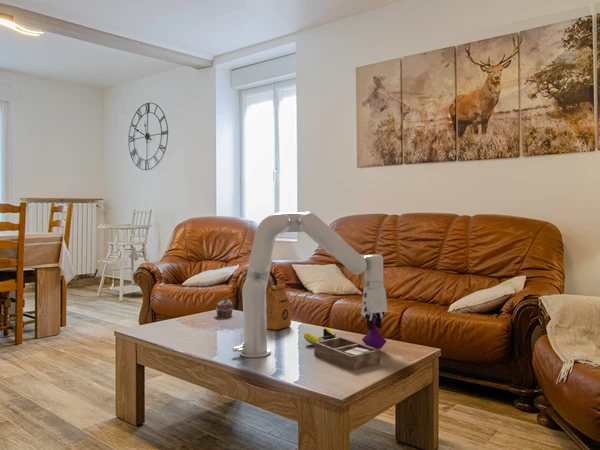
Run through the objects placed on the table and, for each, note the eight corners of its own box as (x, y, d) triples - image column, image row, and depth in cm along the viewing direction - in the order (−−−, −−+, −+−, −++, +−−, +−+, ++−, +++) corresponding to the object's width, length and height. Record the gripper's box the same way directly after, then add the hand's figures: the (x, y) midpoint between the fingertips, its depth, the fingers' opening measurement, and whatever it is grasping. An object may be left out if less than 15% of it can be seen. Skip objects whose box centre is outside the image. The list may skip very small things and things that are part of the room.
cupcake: (228, 313, 275) (228, 296, 275) (235, 316, 267) (235, 298, 267) (213, 315, 270) (212, 298, 270) (220, 318, 262) (219, 300, 262)
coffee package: (294, 327, 240) (293, 284, 239) (276, 332, 230) (276, 287, 230) (279, 324, 246) (279, 282, 246) (262, 329, 237) (261, 285, 236)
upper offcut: (356, 361, 177) (356, 354, 177) (344, 358, 181) (344, 351, 181) (369, 356, 183) (369, 350, 182) (357, 353, 187) (357, 347, 187)
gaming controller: (302, 344, 208) (317, 349, 201) (301, 332, 208) (317, 336, 200) (326, 338, 218) (342, 342, 210) (326, 326, 218) (342, 330, 210)
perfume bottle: (361, 346, 198) (360, 304, 198) (376, 344, 201) (376, 302, 201) (371, 351, 191) (370, 307, 191) (386, 349, 194) (386, 305, 194)
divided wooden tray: (351, 370, 173) (351, 356, 173) (314, 354, 193) (314, 342, 193) (380, 363, 181) (380, 350, 181) (341, 348, 201) (341, 336, 201)
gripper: (364, 287, 188) (364, 333, 189) (395, 283, 197) (395, 327, 198) (352, 285, 194) (352, 329, 195) (382, 281, 204) (382, 324, 204)
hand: (374, 328), depth 196 cm, fingers closed on perfume bottle, 3 cm apart
